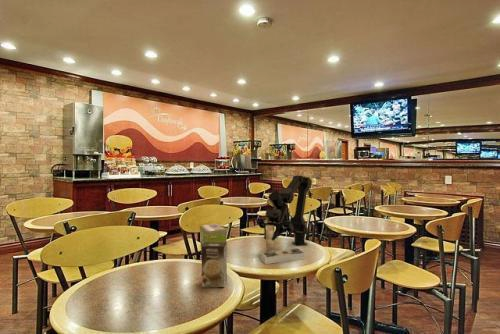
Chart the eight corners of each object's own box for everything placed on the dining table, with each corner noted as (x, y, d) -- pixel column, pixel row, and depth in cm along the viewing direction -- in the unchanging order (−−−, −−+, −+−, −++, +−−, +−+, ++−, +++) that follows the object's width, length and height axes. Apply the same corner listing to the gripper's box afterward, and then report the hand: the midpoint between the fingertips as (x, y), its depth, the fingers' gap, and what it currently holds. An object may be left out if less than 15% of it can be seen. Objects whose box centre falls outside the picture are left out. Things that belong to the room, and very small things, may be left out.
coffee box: (201, 287, 112) (199, 246, 112) (205, 281, 118) (204, 241, 118) (224, 288, 111) (223, 246, 111) (227, 281, 117) (226, 241, 117)
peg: (264, 252, 142) (264, 225, 141) (271, 250, 144) (270, 224, 144) (269, 254, 138) (268, 226, 138) (276, 252, 140) (275, 225, 140)
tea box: (200, 252, 156) (199, 224, 156) (218, 249, 161) (217, 222, 160) (208, 260, 143) (207, 230, 143) (227, 257, 147) (226, 228, 147)
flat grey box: (260, 258, 144) (260, 252, 144) (297, 254, 149) (297, 248, 149) (265, 263, 136) (265, 257, 136) (304, 259, 142) (304, 252, 142)
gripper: (257, 201, 149) (245, 227, 140) (290, 204, 139) (279, 232, 130) (265, 214, 156) (255, 240, 147) (298, 217, 145) (288, 245, 136)
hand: (268, 239), depth 140 cm, fingers closed on peg, 4 cm apart
